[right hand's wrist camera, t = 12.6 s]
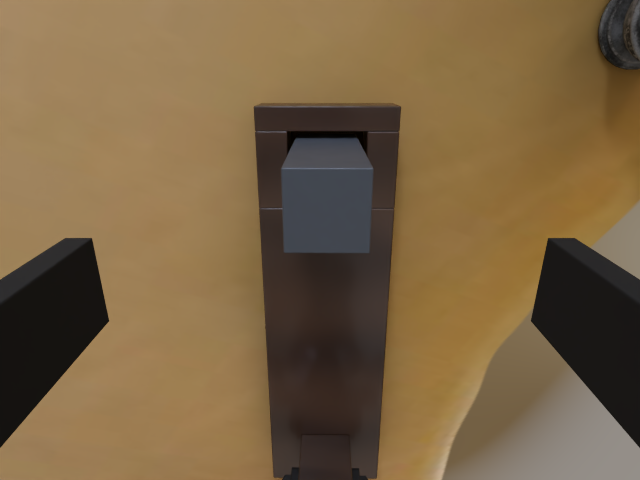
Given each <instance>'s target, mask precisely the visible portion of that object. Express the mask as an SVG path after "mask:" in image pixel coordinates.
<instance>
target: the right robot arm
mask: <svg viewBox="0 0 640 480" xmlns="http://www.w3.org/2000/svg"><path fill="white" fill-rule="evenodd" d="M108 322H109V318H108V314H107V309H106V304H105V299H104V294H103V290H102V285H101V280H100V275H99V270H98V265H97V261H96V256H95V251H94V246H93V241H92V238H65V239H63V240H62V241H60V242H58V243H57V244H55V245H54V246H52V247H51V248H49V249H48V250H46V251H44V252H43V253H41V254H40V255H38V256H37V257H35V258H33V259H32V260H30V261H29V262H27V263H26V264H24V265H23V266H21V267H19V268H18V269H16V270H15V271H13V272H12V273H10V274H8V275H7V276H5V277H4V278H2V279H1V280H0V447H1V446H2V445H3V444H4V443H5V442H6V440H7V439H8V438H9V437H10V436H11V435H12V433H13V432H14V431H15V430H16V429H17V428H18V426H19V425H20V424H21V423H22V422H23V421H24V419H25V418H26V417H27V416H28V415H29V414H30V412H31V411H32V410H33V409H34V408H35V407H36V405H37V404H38V403H39V402H40V401H41V400H42V398H43V397H44V396H45V395H46V394H47V393H48V391H49V390H50V389H51V388H52V387H53V386H54V384H55V383H56V382H57V381H58V380H59V379H60V378H61V376H62V375H63V374H64V373H65V372H66V371H67V369H68V368H69V367H70V366H71V365H72V364H73V362H74V361H75V360H76V359H77V358H78V357H79V355H80V354H81V353H82V352H83V351H84V350H85V348H86V347H87V346H88V345H89V344H90V343H91V341H92V340H93V339H94V338H95V337H96V336H97V334H98V333H99V332H100V331H101V330H102V329H103V327H104V326H105V325H106V324H107V323H108ZM531 322H532V323H533V324H534V325H535V326H536V327H537V329H538V330H539V331H540V332H541V333H542V334H543V336H544V337H545V338H546V339H547V340H548V341H549V343H550V344H551V345H552V346H553V347H554V348H555V350H556V351H557V352H558V353H559V354H560V355H561V357H562V358H563V359H564V360H565V361H566V362H567V364H568V365H569V366H570V367H571V368H572V369H573V371H574V372H575V373H576V374H577V375H578V376H579V377H580V379H581V380H582V381H583V382H584V383H585V384H586V386H587V387H588V388H589V389H590V390H591V391H592V393H593V394H594V395H595V396H596V397H597V398H598V400H599V401H600V402H601V403H602V404H603V405H604V407H605V408H606V409H607V410H608V411H609V412H610V414H611V415H612V416H613V417H614V418H615V419H616V421H617V422H618V423H619V424H620V425H621V426H622V428H623V429H624V430H625V431H626V432H627V433H628V434H629V436H630V437H631V438H632V439H633V440H634V442H635V443H636V444H637V445H638V446H639V447H640V280H639V279H638V278H636V277H635V276H633V275H631V274H630V273H628V272H627V271H625V270H624V269H622V268H621V267H619V266H617V265H616V264H614V263H613V262H611V261H610V260H608V259H607V258H605V257H603V256H602V255H600V254H599V253H597V252H596V251H594V250H592V249H591V248H589V247H588V246H586V245H585V244H583V243H582V242H580V241H578V240H577V239H575V238H548V241H547V246H546V251H545V256H544V261H543V265H542V270H541V275H540V280H539V285H538V290H537V294H536V299H535V304H534V309H533V314H532V318H531Z"/></svg>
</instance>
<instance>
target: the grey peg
mask: <svg viewBox="0 0 640 480" xmlns="http://www.w3.org/2000/svg"><path fill="white" fill-rule="evenodd" d="M373 174H374V169H373V167H372V165H371V163H370V161H369V159H368V157H367V155H366V153H365V152H364V150H363V148H362V146H361V144H360V142H359V140H358V138H357V136H356V134H355V133H298V134H297V136H296V139H295V141H294V143H293V145H292V147H291V149H290V151H289V153H288V155H287V157H286V159H285V161H284V164H283V166H282V168H281V186H282V216H283V246H284V253H370V239H371V217H372V196H373Z"/></svg>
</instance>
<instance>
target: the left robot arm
mask: <svg viewBox="0 0 640 480" xmlns="http://www.w3.org/2000/svg"><path fill="white" fill-rule="evenodd" d="M298 477H299V467H292V470H291V475H285V476H284V477H283V479H282V480H298ZM352 480H368V479H367V477H366V476H360V472H359V468H352Z"/></svg>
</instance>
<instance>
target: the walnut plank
mask: <svg viewBox="0 0 640 480" xmlns="http://www.w3.org/2000/svg"><path fill="white" fill-rule="evenodd" d="M400 114H401V107H400V106H398V105H395V104H393V103H261V104H259V105H256V106H254V119H255V131H256V132H255V137H256V156H257V175H258V194H259V208H260V209H259V212H260V230H261V249H262V268H263V287H264V305H265V324H266V343H267V362H268V380H269V399H270V418H271V437H272V456H273V474H274V477H275V478H283V477H284V476H285V475H291V470H292V467H299V477H298V480H352V468H359V472H360V476H366V477H367V478H372V479H376V478H377V466H378V451H379V435H380V420H381V405H382V389H383V374H384V359H385V343H386V328H387V313H388V297H389V282H390V267H391V251H392V236H393V221H394V205H395V190H396V174H397V159H398V144H399V132H398V131H399V129H400ZM291 131H363V150H364V152H365V153H366V155H367V157H368V159H369V161H370V163H371V165H372V167H373V169H374V174H373V196H372V217H371V239H370V253H284V246H283V216H282V186H281V168H282V166H283V164H284V161H285V159H286V157H287V155H288V153H289V151H290V149H291Z"/></svg>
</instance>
